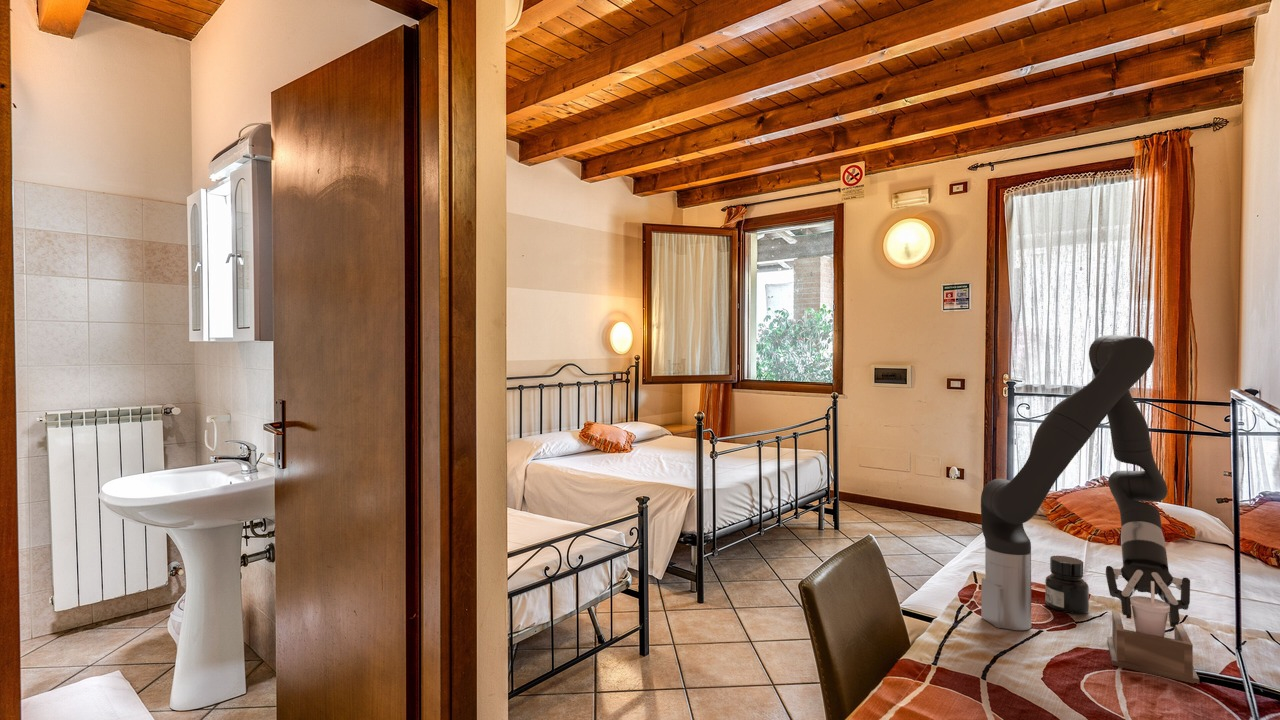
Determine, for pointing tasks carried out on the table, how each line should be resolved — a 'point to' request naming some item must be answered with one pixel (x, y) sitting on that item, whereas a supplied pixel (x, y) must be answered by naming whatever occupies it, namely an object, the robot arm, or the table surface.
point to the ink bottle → (1067, 586)
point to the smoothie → (1150, 614)
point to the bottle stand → (1152, 652)
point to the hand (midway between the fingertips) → (1150, 620)
